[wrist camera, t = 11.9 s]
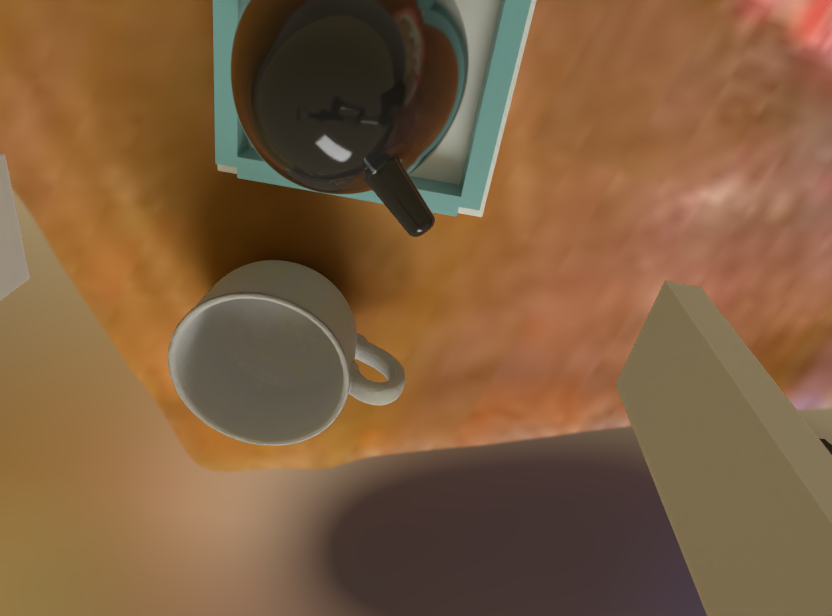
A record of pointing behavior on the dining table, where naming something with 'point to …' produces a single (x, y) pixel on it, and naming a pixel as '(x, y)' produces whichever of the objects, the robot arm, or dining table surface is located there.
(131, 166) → the dining table surface
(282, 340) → the teacup
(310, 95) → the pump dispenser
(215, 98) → the dock
